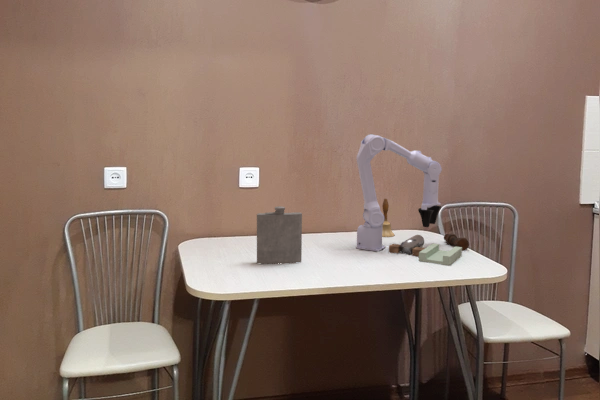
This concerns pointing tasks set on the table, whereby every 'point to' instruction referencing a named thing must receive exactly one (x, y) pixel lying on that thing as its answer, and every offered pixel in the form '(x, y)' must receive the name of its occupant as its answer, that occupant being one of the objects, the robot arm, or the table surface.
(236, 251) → the table surface
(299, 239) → the hip flask
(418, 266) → the table surface
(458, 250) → the pale green channelled slab
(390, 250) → the bearing block
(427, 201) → the robot arm
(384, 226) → the hand bell
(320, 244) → the table surface
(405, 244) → the axle
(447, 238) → the bolt
